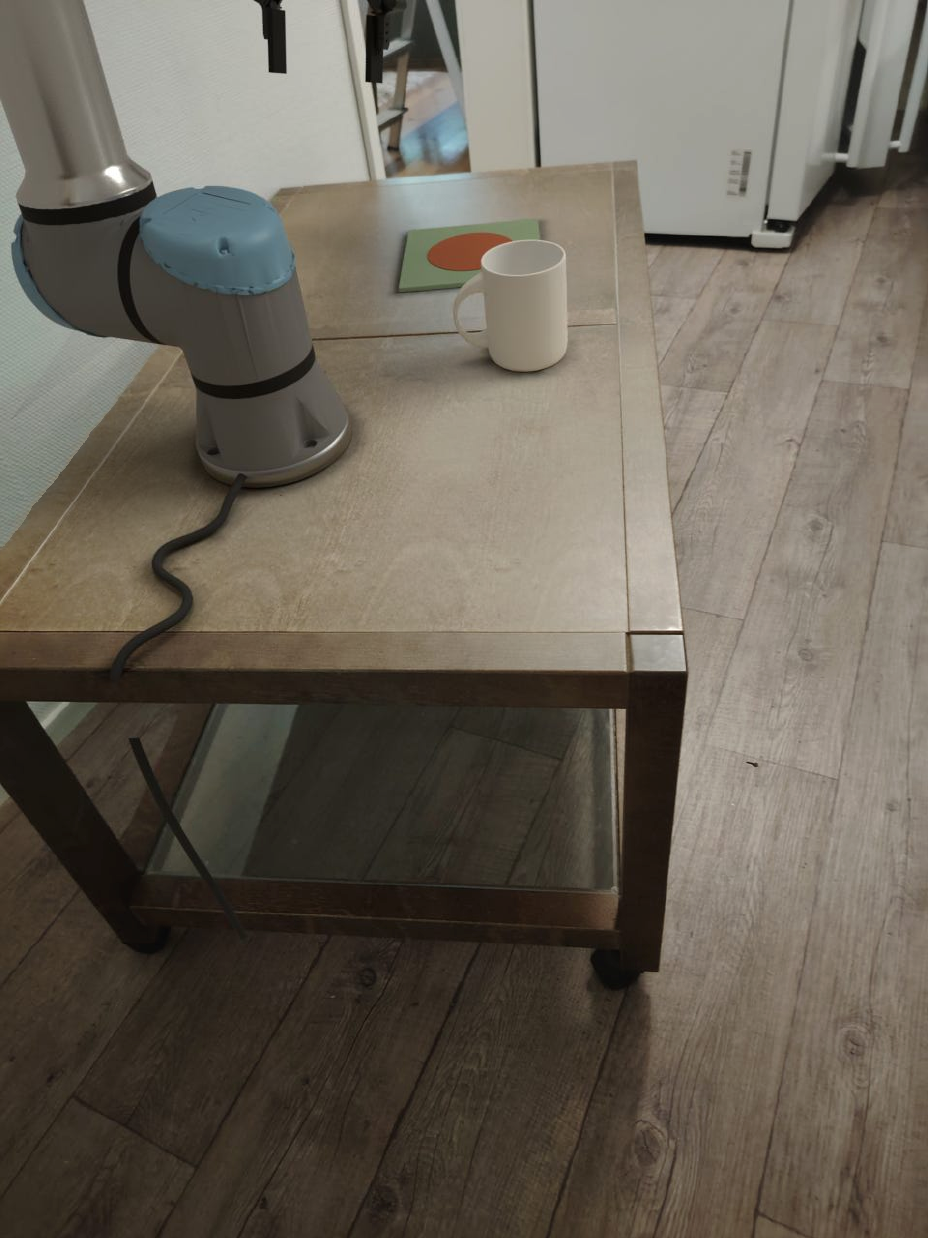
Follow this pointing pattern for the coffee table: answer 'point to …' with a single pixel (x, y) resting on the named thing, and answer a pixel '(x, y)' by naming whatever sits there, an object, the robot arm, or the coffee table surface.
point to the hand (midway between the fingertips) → (324, 78)
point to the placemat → (456, 252)
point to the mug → (521, 304)
